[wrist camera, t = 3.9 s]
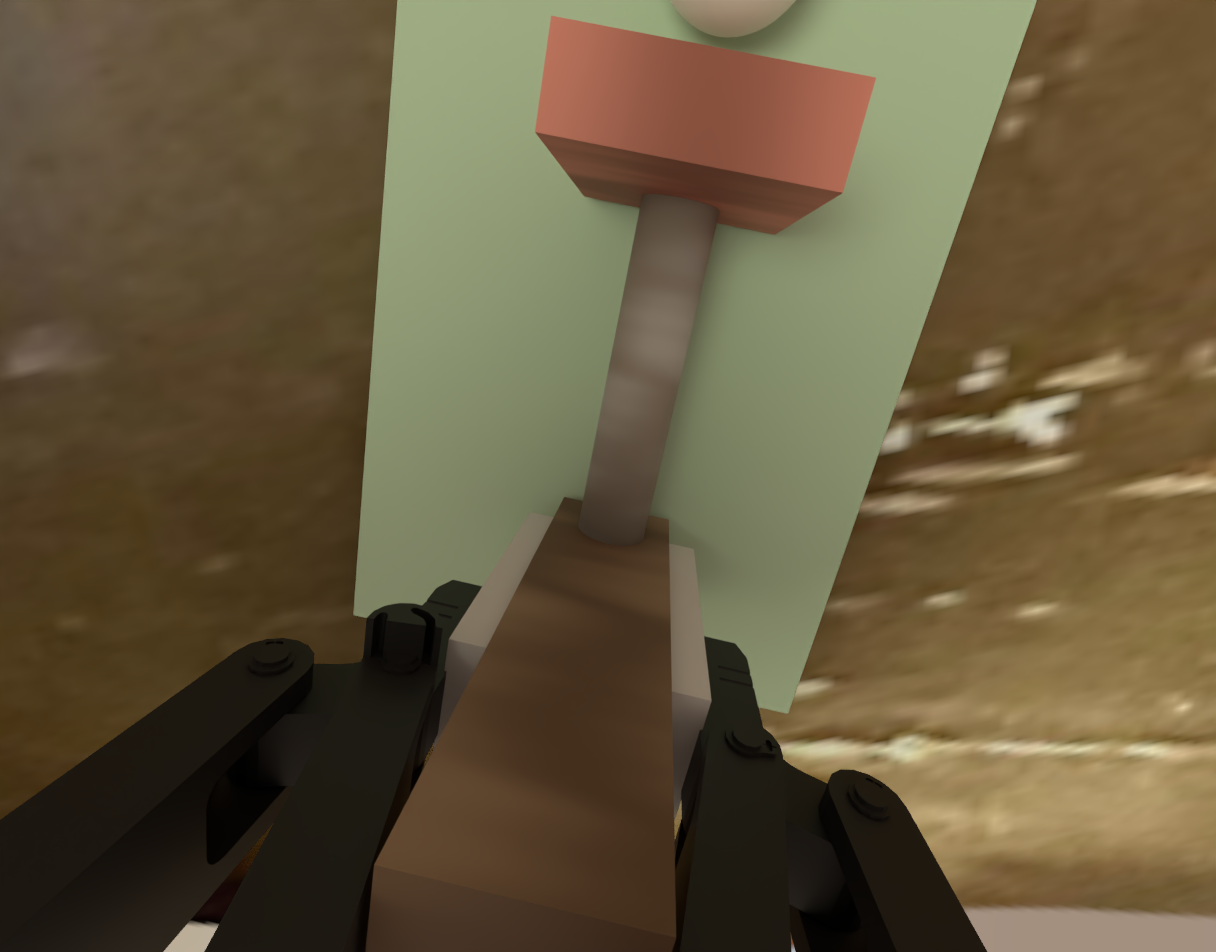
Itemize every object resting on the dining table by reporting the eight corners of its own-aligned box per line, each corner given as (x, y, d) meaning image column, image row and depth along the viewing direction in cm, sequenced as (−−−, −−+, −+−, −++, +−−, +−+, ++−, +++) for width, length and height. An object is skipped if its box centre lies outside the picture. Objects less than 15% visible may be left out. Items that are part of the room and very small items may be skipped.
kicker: (519, 584, 18) (282, 1042, 7) (595, 127, 15) (346, -504, 3) (674, 618, 18) (689, 1145, 7) (792, 166, 14) (1278, -350, 3)
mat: (359, 609, 20) (353, 614, 20) (473, -899, 11) (465, -945, 10) (785, 705, 20) (787, 713, 19) (1300, -785, 10) (1325, -827, 10)
